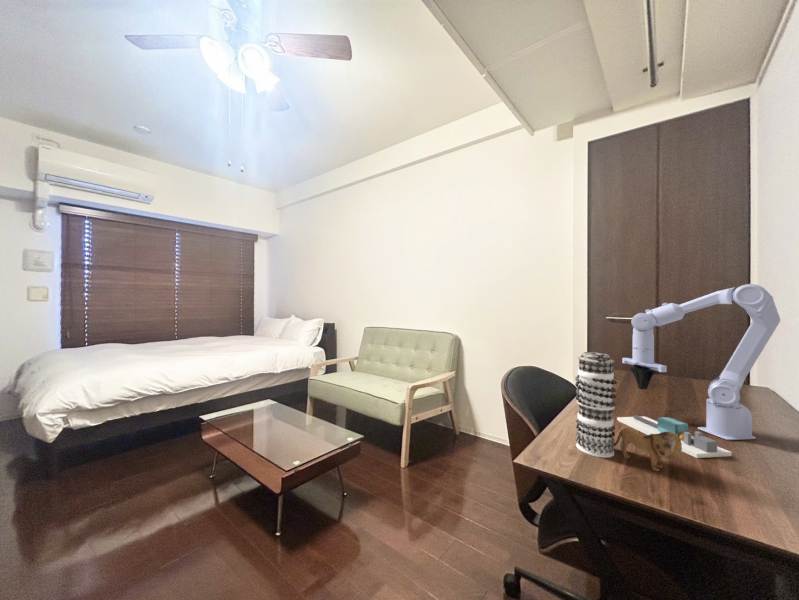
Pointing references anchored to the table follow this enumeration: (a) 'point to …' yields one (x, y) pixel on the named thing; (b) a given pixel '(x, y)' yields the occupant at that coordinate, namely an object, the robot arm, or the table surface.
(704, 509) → the table surface
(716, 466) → the table surface
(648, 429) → the cable board
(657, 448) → the lion figurine
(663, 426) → the sleeve
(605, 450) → the decorative candle
